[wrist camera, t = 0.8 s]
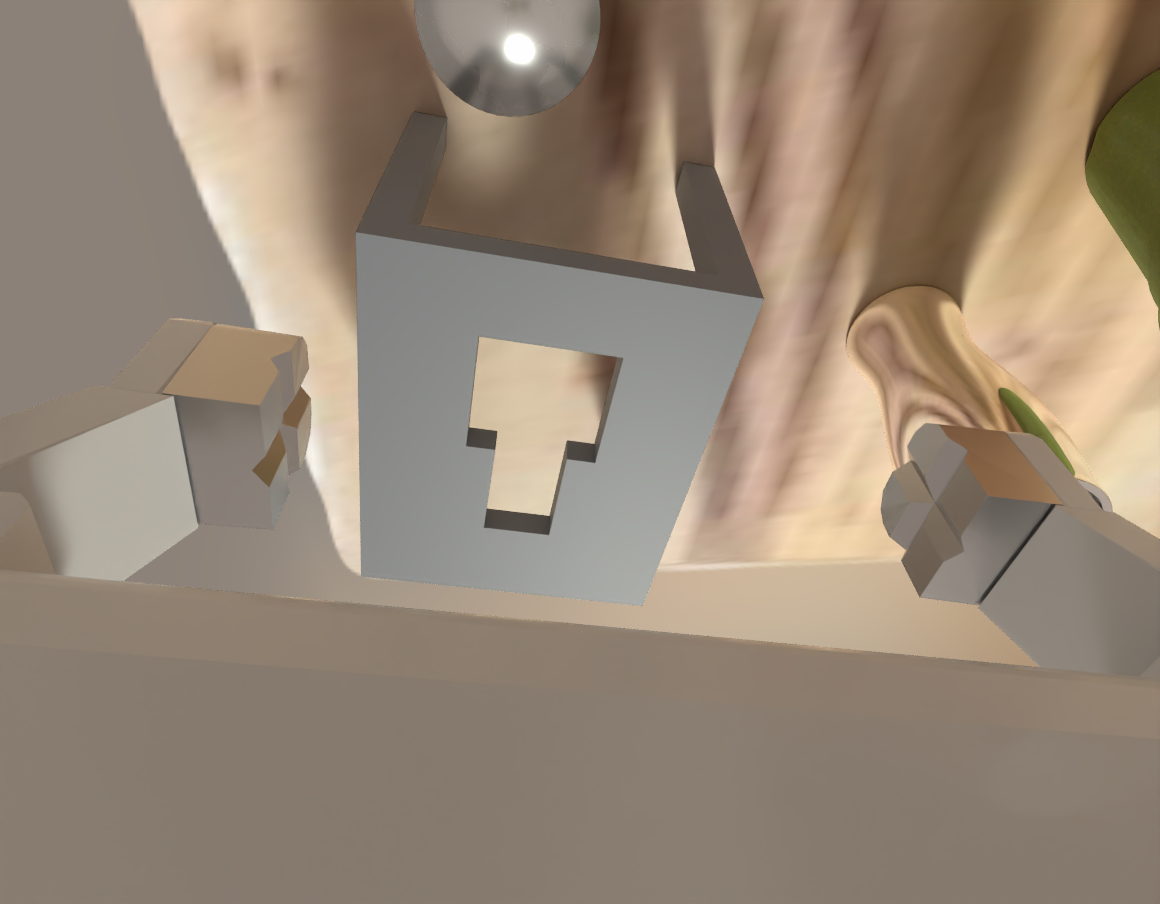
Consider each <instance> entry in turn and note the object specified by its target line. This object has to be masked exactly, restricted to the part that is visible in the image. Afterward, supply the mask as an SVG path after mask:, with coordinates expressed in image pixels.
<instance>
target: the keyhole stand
mask: <svg viewBox="0 0 1160 904" xmlns="http://www.w3.org/2000/svg"><path fill="white" fill-rule="evenodd" d="M446 127H447V118H446V117H440V116H435V115H430V114H424V113H419V112H413V113H412V115H411V117H410V119H409V121H408V124H407V126H406V128H405V130H404V132H403V134H402V136H401V138H400V140H399V142H398V145H397V147H396V149H395V151H394V153H393V155H392V157H391V159H390V161H389V163H388V166H387V168H386V170H385V172H384V174H383V176H382V178H381V180H380V182H379V184H378V186H377V189H376V191H375V193H374V195H373V197H372V199H371V201H370V203H369V205H368V207H367V210H366V212H365V214H364V216H363V218H362V220H361V222H360V224H359V226H358V228H357V231H356V282H357V345H358V408H359V470H360V533H361V576H362V577H372V578H381V579H391V580H400V581H410V582H419V583H429V584H438V585H448V586H458V587H467V588H477V589H486V590H495V591H504V592H514V593H523V594H524V593H525V594H533V595H542V596H543V595H544V596H552V597H562V598H571V599H581V600H590V601H599V602H609V603H619V604H628V605H638V606H643V603H644V600H645V598H646V595H647V593H648V590H649V588H650V585H651V582H652V580H653V577H654V575H655V573H656V570H657V568H658V565H659V563H660V560H661V558H662V555H663V553H664V550H665V548H666V545H667V542H668V540H669V537H670V535H671V532H672V530H673V527H674V525H675V522H676V520H677V517H678V515H679V512H680V510H681V507H682V505H683V502H684V500H685V497H686V495H687V492H688V490H689V487H690V484H691V482H692V479H693V477H694V474H695V472H696V469H697V467H698V464H699V462H700V459H701V457H702V454H703V452H704V449H705V447H706V444H707V442H708V439H709V437H710V434H711V432H712V429H713V426H714V424H715V421H716V419H717V416H718V414H719V411H720V409H721V406H722V404H723V401H724V399H725V396H726V394H727V391H728V389H729V386H730V384H731V381H732V379H733V376H734V374H735V371H736V368H737V366H738V363H739V361H740V358H741V356H742V353H743V351H744V348H745V346H746V343H747V341H748V338H749V336H750V333H751V331H752V328H753V326H754V323H755V321H756V318H757V316H758V313H759V310H760V308H761V305H762V303H763V300H764V298H763V295H762V292H761V290H760V287H759V284H758V282H757V279H756V276H755V274H754V271H753V268H752V266H751V263H750V260H749V258H748V255H747V252H746V250H745V247H744V244H743V242H742V239H741V236H740V234H739V231H738V228H737V226H736V223H735V220H734V218H733V215H732V212H731V210H730V207H729V204H728V202H727V199H726V196H725V194H724V191H723V188H722V186H721V183H720V180H719V178H718V175H717V172H716V170H715V167H709V166H704V165H699V164H693V163H688V162H684V163H683V167H682V170H681V174H680V178H679V181H678V185H677V188H676V192H675V193H676V197H677V201H678V205H679V209H680V213H681V217H682V221H683V224H684V228H685V232H686V236H687V240H688V244H689V248H690V252H691V256H692V259H693V263H694V267H695V271H696V272H695V271H689V270H683V269H677V268H671V267H665V266H659V265H653V264H647V263H641V262H635V261H629V260H623V259H617V258H611V257H605V256H599V255H593V254H587V253H581V252H575V251H569V250H563V249H557V248H551V247H545V246H539V245H533V244H527V243H521V242H515V241H509V240H503V239H497V238H491V237H485V236H479V235H473V234H467V233H461V232H455V231H449V230H443V229H437V228H431V227H425V226H420V223H421V220H422V217H423V214H424V211H425V209H426V206H427V203H428V200H429V197H430V194H431V191H432V188H433V185H434V182H435V179H436V176H437V173H438V170H439V167H440V164H441V161H442V158H443V155H444V153H445V143H446ZM479 337H486V338H493V339H500V340H506V341H513V342H520V343H526V344H533V345H540V346H547V347H553V348H560V349H567V350H573V351H580V352H587V353H593V354H600V355H607V356H614V357H617V360H616V364H615V368H614V372H613V376H612V379H611V383H610V387H609V391H608V395H607V398H606V402H605V406H604V410H603V414H602V417H601V421H600V425H599V429H598V433H597V436H596V440H595V444H590V443H582V442H575V441H567V443H566V447H565V451H564V456H563V460H562V465H561V469H560V473H559V478H558V482H557V486H556V491H555V495H554V499H553V504H552V508H551V512H550V516H544V515H536V514H528V513H519V512H511V511H503V510H494V509H487V503H488V496H489V489H490V482H491V475H492V468H493V462H494V455H495V447H496V439H497V431H492V430H485V429H477V428H470V427H469V423H470V414H471V405H472V396H473V387H474V378H475V369H476V360H477V351H478V342H479Z"/></svg>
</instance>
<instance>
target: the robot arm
mask: <svg viewBox="0 0 1160 904" xmlns="http://www.w3.org/2000/svg"><path fill="white" fill-rule="evenodd" d="M308 369H309V363H308V351H307V344H306V342H305V340H304V338H303V337H301V336H294V335H288V334H281V333H275V332H269V331H262V330H256V329H249V328H243V327H236V326H229V325H223V324H218V325H217V324H216V323H213V322H205V321H197V320H188V319H180V318H173V319H168V320H166V321H165V322H164V323H163V325H162V326H161V327H160V328H159V329H158V330H157V331H156V333H155V334H154V335H153V336H152V337H151V338H150V339H149V341H148V342H147V343H146V344H145V345H144V346H143V347H142V348H141V350H140V351H139V352H138V353H137V354H136V355H135V356H134V358H133V359H132V360H131V361H130V362H129V363H128V364H127V366H126V367H125V368H124V369H123V370H122V371H121V372H120V374H119V375H118V376H117V377H116V378H115V379H114V380H113V382H112V383H111V384H110V385H109V386H108V387H107V388H106V387H98V386H91V387H89V388H86V389H83V390H80V391H77V392H74V393H72V394H69V395H66V396H63V397H60V398H57V399H55V400H52V401H49V402H46V403H43V404H40V405H37V406H35V407H32V408H29V409H26V410H24V411H21V412H18V413H15V414H12V415H9V416H6V417H3V418H1V419H0V904H1160V539H1158V538H1157V537H1155V536H1153V535H1152V534H1150V533H1148V532H1147V531H1145V530H1143V529H1141V528H1140V527H1138V526H1136V525H1135V524H1133V523H1131V522H1130V521H1128V520H1126V519H1125V518H1123V517H1121V516H1119V515H1118V514H1116V513H1114V512H1107V511H1103V510H1102V509H1101V507H1100V506H1099V505H1098V504H1097V503H1096V502H1095V500H1094V499H1093V498H1092V497H1091V496H1090V495H1089V493H1088V492H1087V491H1086V490H1085V489H1084V488H1083V486H1082V485H1081V484H1080V483H1079V482H1078V481H1077V479H1076V478H1075V477H1074V476H1073V475H1072V474H1071V472H1070V471H1069V470H1068V469H1067V468H1066V467H1065V465H1064V464H1063V463H1062V462H1061V461H1060V460H1059V458H1058V457H1057V456H1056V455H1055V454H1054V453H1053V451H1052V450H1051V449H1050V448H1049V447H1048V446H1047V444H1046V443H1045V442H1044V441H1043V440H1042V439H1041V438H1039V437H1037V436H1034V435H1032V434H1030V433H1019V432H1009V431H998V430H988V429H979V428H969V427H960V426H951V425H942V424H932V423H925V424H924V425H922V426H921V427H920V428H919V429H918V430H917V431H916V432H915V433H914V435H913V437H912V438H911V440H910V442H909V444H908V445H907V450H908V454H909V458H910V461H909V462H907V463H906V464H904V465H902V466H901V467H899V468H898V469H896V470H895V471H893V472H892V474H891V476H890V478H889V480H888V482H887V484H886V486H885V488H884V490H883V497H882V504H881V513H882V519H883V524H884V526H885V528H886V530H887V533H888V535H889V537H890V538H892V539H893V540H894V541H895V542H897V543H898V544H899V545H900V546H902V547H903V548H904V549H905V553H904V555H903V557H902V560H901V561H902V563H903V565H904V567H905V569H906V571H907V573H908V575H909V577H910V579H911V581H912V583H913V585H914V587H915V589H916V591H917V593H918V595H919V597H921V598H928V599H936V600H943V601H951V602H959V603H966V604H973V605H980V606H979V607H978V608H979V609H980V610H981V611H982V612H983V613H984V614H985V615H986V616H987V617H988V618H989V619H990V620H991V621H993V622H994V623H995V624H996V625H997V626H998V627H999V628H1000V629H1001V630H1002V631H1003V632H1004V633H1005V634H1006V635H1007V636H1008V637H1009V638H1010V639H1011V640H1012V641H1013V642H1014V643H1016V644H1017V645H1018V646H1019V647H1020V648H1021V649H1022V650H1023V651H1024V652H1025V653H1026V654H1027V655H1028V656H1029V657H1030V658H1031V659H1032V660H1033V661H1034V662H1035V663H1036V664H1037V665H1039V666H1040V667H1031V666H1020V665H1009V664H999V663H989V662H978V661H967V660H957V659H945V658H936V657H925V656H914V655H904V654H893V653H883V652H872V651H860V650H851V649H840V648H829V647H819V646H807V645H797V644H786V643H774V642H765V641H754V640H743V639H732V638H721V637H710V636H699V635H689V634H679V633H668V632H657V631H647V630H636V629H626V628H615V627H604V626H593V625H583V624H572V623H562V622H551V621H541V620H530V619H519V618H509V617H498V616H487V615H477V614H466V613H455V612H445V611H434V610H424V609H413V608H402V607H392V606H381V605H370V604H360V603H349V602H339V601H328V600H318V599H317V600H316V599H307V598H296V597H286V596H275V595H265V594H254V593H243V592H232V591H222V590H221V591H220V590H212V589H201V588H190V587H180V586H169V585H158V584H147V583H137V582H127V581H124V580H125V579H126V578H128V577H129V576H131V575H132V574H134V573H135V572H136V571H138V570H139V569H141V568H142V567H143V566H145V565H146V564H147V563H149V562H150V561H152V560H153V559H154V558H156V557H157V556H159V555H160V554H162V553H163V552H165V551H166V550H167V549H168V548H170V547H172V546H173V545H174V544H176V543H177V542H178V541H180V540H181V539H183V538H184V537H186V536H187V535H189V534H190V533H191V532H193V531H194V530H196V529H197V528H198V524H205V525H218V526H231V527H243V528H256V529H269V530H273V529H274V527H275V524H276V522H277V520H278V518H279V515H280V513H281V511H282V509H283V506H284V504H285V502H286V500H287V497H288V495H289V480H288V475H290V474H292V473H294V472H295V471H297V470H299V469H300V467H301V465H302V462H303V460H304V457H305V455H306V451H307V446H308V441H309V436H310V430H311V398H310V397H309V396H308V394H307V393H306V392H305V391H304V390H303V388H302V387H301V384H302V382H303V380H304V378H305V376H306V374H307V371H308Z"/></svg>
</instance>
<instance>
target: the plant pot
mask: <svg viewBox="0 0 1160 904" xmlns="http://www.w3.org/2000/svg"><path fill="white" fill-rule="evenodd" d="M1085 174H1086V181H1087V185H1088V188H1089V190H1090V192H1091V194H1092V196H1093V197H1094V199H1095V200H1096V202H1097V204H1098V205H1099V207H1100V208H1101V210H1102V211H1103V213H1104V214H1105V216H1106V218H1107V219H1108V221H1109V222H1110V224H1111V225H1112V227H1113V228H1114V230H1115V231H1116V233H1117V234H1118V236H1119V237H1120V239H1121V241H1122V242H1123V244H1124V245H1125V247H1126V248H1127V250H1128V251H1129V253H1130V254H1131V256H1132V258H1133V259H1134V261H1135V262H1136V264H1137V265H1138V267H1139V268H1140V270H1141V271H1142V273H1143V274H1144V276H1145V278H1146V279H1147V281H1148V284H1149V288H1150V292H1151V294H1152V297H1153V299H1154V301H1155V303H1156V305H1157V307H1158V308H1159V310H1158V321H1159V328H1160V69H1159V70H1157V71H1156V72H1154V73H1152V74H1151V75H1149V76H1147V77H1146V78H1145V79H1143V80H1142V81H1140V82H1139V83H1138V84H1136V85H1135V86H1134V87H1132V88H1131V89H1130V90H1129V91H1128V92H1127V93H1126V94H1125V95H1124V96H1123V97H1122V98H1121V99H1120V100H1119V101H1118V102H1117V103H1116V104H1115V105H1114V106H1113V108H1112V109H1111V110H1110V111H1109V112H1108V114H1107V115H1106V117H1105V118H1104V119H1103V121H1102V122H1101V124H1100V126H1099V127H1098V129H1097V132H1096V136H1095V140H1094V143H1093V146H1092V149H1091V151H1090V154H1089V157H1088V160H1087V162H1086V166H1085Z"/></svg>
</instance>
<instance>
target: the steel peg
mask: <svg viewBox="0 0 1160 904" xmlns="http://www.w3.org/2000/svg"><path fill="white" fill-rule="evenodd" d="M415 19H416V27H417V31H418V35H419V39H420V42H421V45H422V48H423V50H424V53H425V55H426V57H427V59H428V61H429V63H430V65H431V67H432V68H433V70H434V71H435V73H436V74H437V76H438V77H439V78H440V79H441V81H442V82H443V83H444V84H445V85H446V86H447V87H448V88H449V89H450V90H451V91H452V92H453V93H454V94H455V95H456V96H458V97H459V98H460V99H462V100H463V101H465V102H466V103H468V104H470V105H471V106H473V107H475V108H477V109H480V110H482V111H485V112H487V113H491V114H495V115H500V116H508V117H513V116H526V115H532V114H535V113H538V112H542V111H544V110H546V109H548V108H550V107H552V106H554V105H556V104H557V103H559V102H560V101H562V100H563V99H564V98H565V97H567V96H568V95H569V94H570V93H571V92H572V91H573V90H574V89H575V88H576V86H577V85H578V84H579V83H580V81H581V80H582V78H583V77H584V76H585V74H586V72H587V70H588V68H589V66H590V64H591V62H592V60H593V57H594V54H595V52H596V48H597V43H598V39H599V32H600V4H599V0H415Z"/></svg>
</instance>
